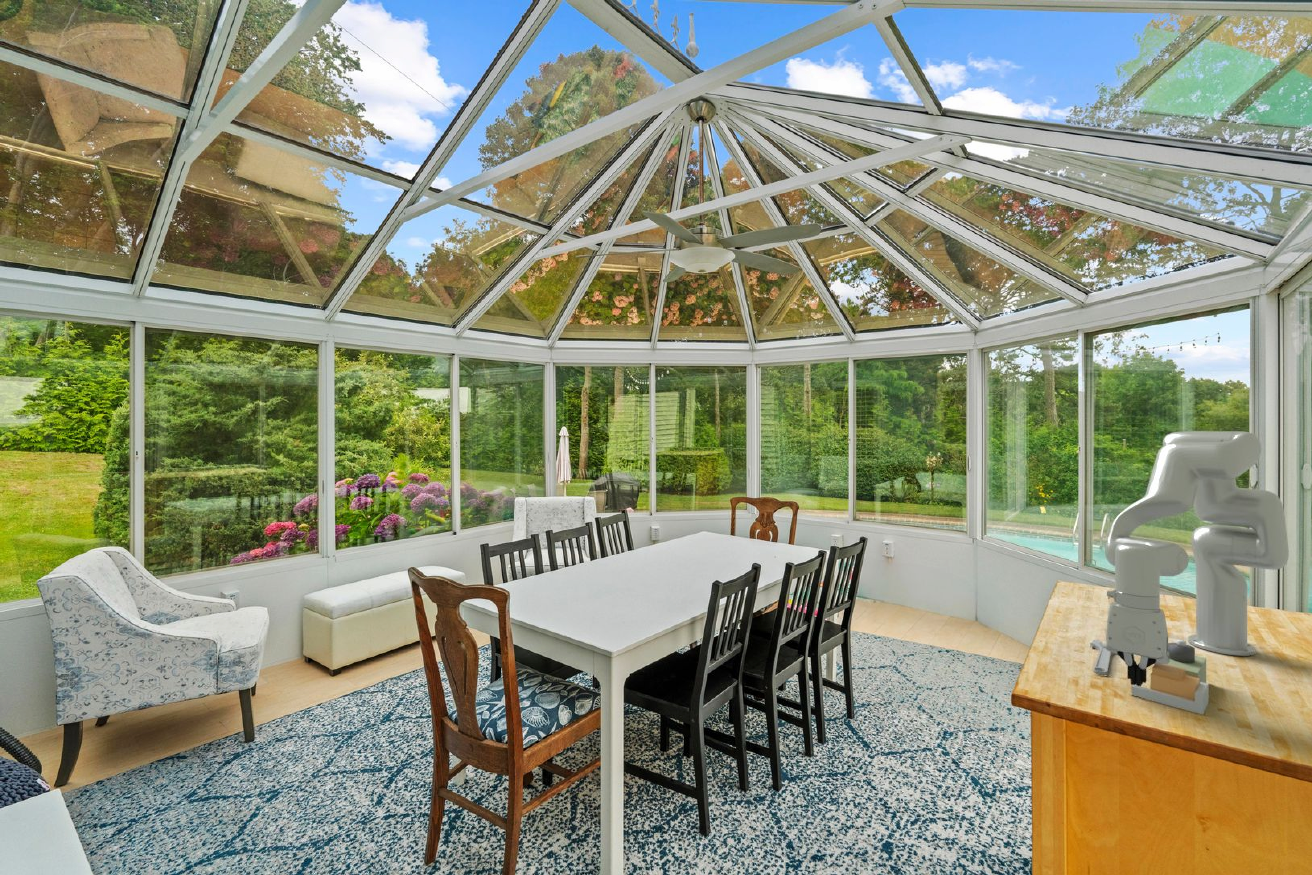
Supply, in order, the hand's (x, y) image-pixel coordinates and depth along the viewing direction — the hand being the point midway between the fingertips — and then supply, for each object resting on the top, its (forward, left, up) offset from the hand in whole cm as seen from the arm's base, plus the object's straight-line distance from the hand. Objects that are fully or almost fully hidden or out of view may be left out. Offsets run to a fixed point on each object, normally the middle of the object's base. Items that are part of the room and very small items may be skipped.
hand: (1136, 683), depth 126 cm
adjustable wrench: (-16, -10, -2) cm, 19 cm away
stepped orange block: (0, +6, -1) cm, 6 cm away
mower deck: (-6, +5, -1) cm, 8 cm away
